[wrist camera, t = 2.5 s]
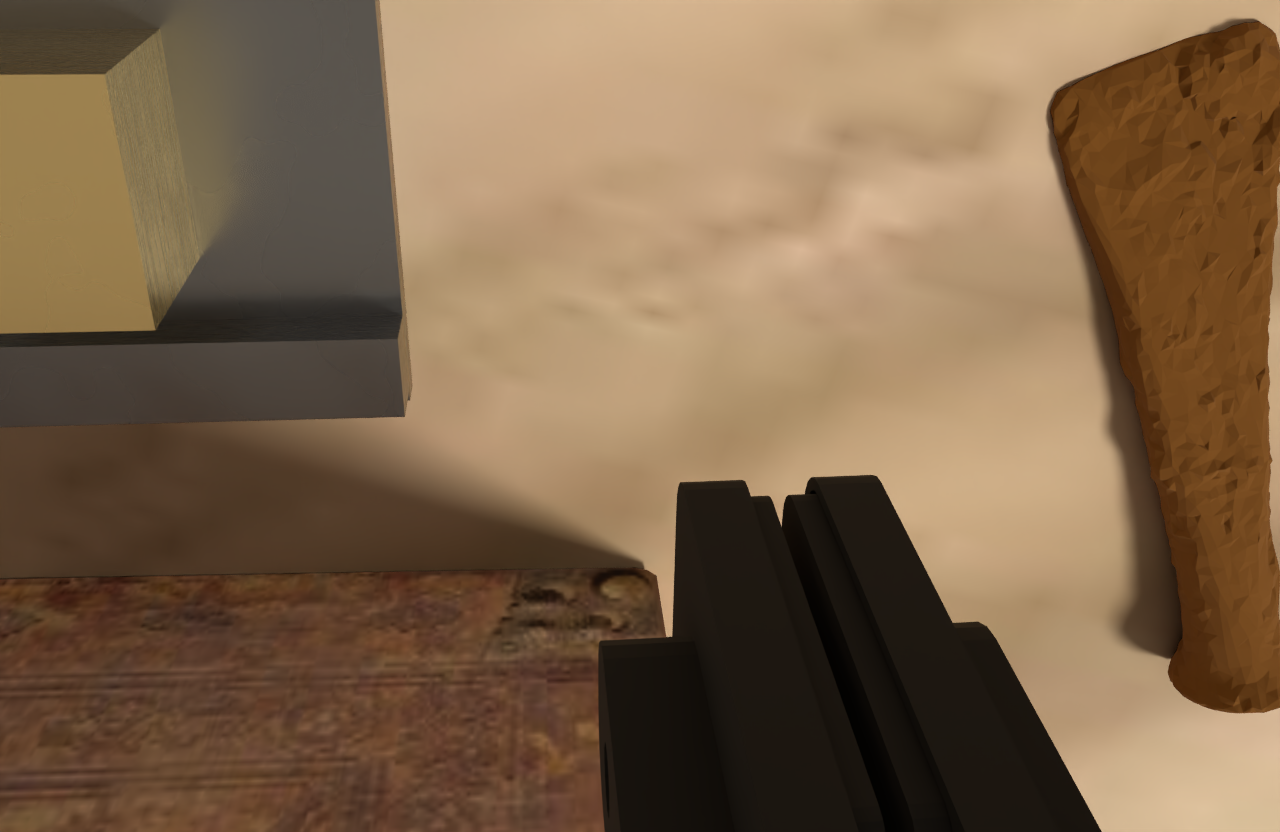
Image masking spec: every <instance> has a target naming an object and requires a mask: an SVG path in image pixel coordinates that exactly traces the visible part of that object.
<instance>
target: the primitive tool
mask: <svg viewBox="0 0 1280 832" xmlns="http://www.w3.org/2000/svg"><path fill="white" fill-rule="evenodd" d="M1050 112H1051V115H1052V119H1053V124H1054V135H1055V137H1056V140H1057V145H1058V150H1059V153H1060V156H1061V160H1062V163H1063V167H1064V173H1065V178H1066V183H1067V186H1068V187H1069V191H1070V194H1071V197H1072V200H1073V202H1074V204H1075V207H1076V210H1077V213H1078V216H1079V219H1080V221H1081V224H1082V227H1083V230H1084V233H1085V236H1086V238H1087V241H1088V243H1089V245H1090V247H1091V250H1092V253H1093V255H1094V258H1095V261H1096V265H1097V268H1098V271H1099V274H1100V276H1101V279H1102V281H1103V284H1104V286H1105V290H1106V293H1107V297H1108V300H1109V303H1110V306H1111V309H1112V312H1113V317H1114V322H1115V327H1116V331H1117V335H1118V339H1119V353H1120V364H1121V367H1122V369H1123V371H1124V374H1125V376H1126V377H1127V378H1128V379H1129V380H1130V381H1131V383H1132V385H1133V387H1134V392H1135V398H1136V399H1135V404H1136V407H1137V411H1138V414H1139V417H1140V420H1141V426H1142V433H1143V437H1144V440H1145V444H1146V448H1147V453H1148V459H1149V464H1150V467H1151V479H1153V480H1154V481H1155V483H1156V485H1157V488H1158V492H1159V496H1160V499H1161V511H1162V514H1163V517H1164V520H1165V530H1166V533H1167V536H1168V538H1169V546H1170V548H1171V563H1172V564H1173V565H1174V566H1175V568H1176V572H1177V575H1176V577H1177V582H1178V595H1179V599H1180V604H1181V621H1182V626H1183V638H1182V639H1181V640H1180V642H1179V644H1178V647H1177V651H1176V652H1175V654H1174V655H1173V657H1172V658H1171V661H1170V664H1169V669H1168V675H1169V678H1170V681H1171V682H1172V683H1173V685H1174V687H1175V688H1176V689H1177V690H1178V691H1179V692H1180V693H1181V694H1182V695H1183V696H1184V697H1186V698H1187V699H1189V700H1191V701H1193V702H1194V703H1197V704H1199V705H1201V706H1204V707H1206V708H1209V709H1213V710H1218V711H1223V712H1229V713H1257V712H1260V713H1264V712H1267V711H1271V710H1274V709H1277V708H1280V620H1279V613H1278V608H1279V588H1280V571H1279V565H1278V561H1277V557H1276V553H1275V549H1274V545H1273V541H1272V534H1271V529H1270V519H1269V518H1270V513H1271V510H1270V506H1269V500H1270V493H1269V483H1270V474H1271V469H1270V464H1271V462H1272V458H1271V455H1270V444H1269V419H1268V416H1269V409H1270V407H1269V402H1268V392H1269V385H1270V379H1269V367H1268V345H1269V334H1268V325H1269V320H1270V318H1269V315H1270V294H1271V290H1272V280H1273V277H1272V257H1273V250H1274V235H1275V232H1276V228H1277V225H1278V215H1277V186H1278V185H1279V183H1280V172H1279V165H1280V48H1279V44H1278V42H1277V37H1276V34H1275V33H1274V32H1273V31H1272V30H1271V29H1270V28H1268V27H1267V26H1265V25H1264V24H1262V23H1261V22H1259V21H1258V22H1254V23H1242V24H1239V25H1234V26H1231V27H1229V28H1227V29H1225V30H1223V31H1220V32H1213V33H1208V34H1204V35H1201V36H1196V37H1190V38H1186V39H1184V40H1181V41H1178V42H1176V43H1173V44H1171V45H1169V46H1167V47H1164V48H1162V49H1160V50H1157V51H1154V52H1150V53H1147V54H1145V55H1141V56H1138V57H1135V58H1133V59H1130V60H1127V61H1124V62H1122V63H1119V64H1116V65H1114V66H1112V67H1110V68H1107V69H1105V70H1103V71H1101V72H1098V73H1096V74H1094V75H1092V76H1090V77H1087V78H1085V79H1083V80H1081V81H1079V82H1077V83H1075V84H1074V85H1072V86H1070V87H1067V88H1065V89H1063V90H1061V91H1059V92H1057V94H1056V96H1055V99H1054V101H1053V104H1052V106H1051V109H1050Z"/></svg>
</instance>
